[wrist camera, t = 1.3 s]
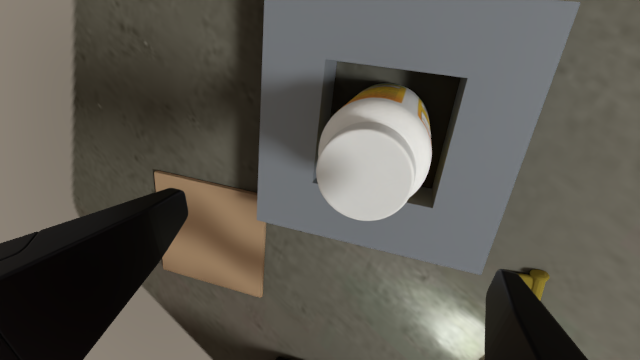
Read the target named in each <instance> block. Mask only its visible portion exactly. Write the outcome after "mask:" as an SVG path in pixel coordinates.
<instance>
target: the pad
mask: <svg viewBox="0 0 640 360" xmlns="http://www.w3.org/2000/svg"><path fill="white" fill-rule="evenodd" d="M154 177H155V187H156V192H158V191H161V190H164V189H167V188H175V189H180V190H182V191H184V193H185V196H186V201H187V206H188V217H187V219H186V221H185V223H184V224H183V226H182V227H181V229H180V231H179V232H178V234H177V235H176V237H175V239H174V240H173V242H172V243H171V245H170V247H169V248H168V250H167V251H166V253H165V254H164V256H163V257H162V259H163V269H165V270H168V271H172V272H175V273H178V274H182V275H185V276H189V277H192V278H195V279H199V280H202V281H205V282H209V283H212V284H216V285H219V286H222V287H226V288H229V289H233V290H236V291H239V292H243V293H246V294H250V295H253V296H256V297H260V298H261V297H262V295H263V279H264V258H265V238H266V222H262V221H258V220H257V194H258V193H255V192H251V191H247V190H242V189H238V188H233V187H229V186H225V185H220V184H216V183H211V182H207V181H202V180H198V179H194V178H189V177H185V176H180V175H176V174H172V173H167V172H163V171H158V170H157V171H155V172H154Z"/></svg>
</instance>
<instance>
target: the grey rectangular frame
mask: <svg viewBox="0 0 640 360" xmlns="http://www.w3.org/2000/svg"><path fill="white" fill-rule="evenodd" d="M580 3H581V2H571V1H559V0H264V25H263V53H262V81H261V109H260V138H259V166H258V194H257V220H258V221H262V222H266V223H270V224H274V225H278V226H282V227H286V228H291V229H295V230H299V231H303V232H307V233H311V234H315V235H319V236H323V237H327V238H331V239H335V240H340V241H344V242H348V243H352V244H356V245H360V246H364V247H368V248H372V249H376V250H380V251H384V252H389V253H393V254H397V255H401V256H405V257H409V258H413V259H417V260H421V261H425V262H429V263H433V264H438V265H442V266H446V267H450V268H454V269H458V270H462V271H466V272H470V273H474V274H478V275H481V274H482V271H483V268H484V266H485V263H486V260H487V257H488V255H489V252H490V249H491V246H492V244H493V241H494V238H495V235H496V233H497V230H498V227H499V224H500V222H501V219H502V216H503V213H504V211H505V208H506V205H507V203H508V200H509V197H510V194H511V192H512V189H513V186H514V183H515V181H516V178H517V175H518V172H519V170H520V167H521V164H522V161H523V159H524V156H525V153H526V150H527V148H528V145H529V142H530V140H531V137H532V134H533V131H534V129H535V126H536V123H537V120H538V118H539V115H540V112H541V109H542V107H543V104H544V101H545V98H546V96H547V93H548V90H549V88H550V85H551V82H552V79H553V77H554V74H555V71H556V68H557V66H558V63H559V60H560V57H561V55H562V52H563V49H564V46H565V44H566V41H567V38H568V35H569V33H570V30H571V27H572V25H573V22H574V19H575V16H576V14H577V11H578V8H579V5H580ZM337 61H342V62H350V63H357V64H365V65H372V66H380V67H387V68H395V69H402V70H410V71H417V72H425V73H432V74H440V75H447V76H455V77H461V78H460V82H459V86H458V90H457V94H456V98H455V101H454V105H453V109H452V113H451V117H450V121H449V124H448V128H447V132H446V136H445V140H444V144H443V147H442V151H441V155H440V159H439V163H438V167H437V170H436V174H435V178H434V182H433V186H432V189H430V188H425V187H420V188H419V189H418V190H417V191H416V193H414V194H413V195H412V196H411V197H410V198H409V199H408V200H407V202H406V203H405V204H404V206H403V207H402V208H401V209H400V210H398V211H397V212H396V213H394V214H392V215H391V216H389V217H386V218H383V219H380V220H374V221H361V220H356V219H352V218H349V217H347V216H345V215H343V214H341V213H339V212H338V211H336V210H335V209H334V208H333V207H332V206H330V205H329V203H328V202H327V201H326V200H325V198H324V197H323V195H322V194H321V191H320V189H319V186H318V183H317V178H316V167H317V161H318V158H319V157H318V149H319V143H320V138H321V135H322V132H323V130H324V128H325V126H326V124H327V123H328V121H329V120H330V116H331V108H332V99H333V91H334V82H335V74H336V66H337Z"/></svg>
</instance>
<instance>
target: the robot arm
mask: <svg viewBox="0 0 640 360" xmlns="http://www.w3.org/2000/svg"><path fill="white" fill-rule="evenodd" d="M187 217H188V206H187V201H186V196H185V193H184V191H182V190H180V189H175V188H167V189H164V190H161V191H158V192H155V193H152V194H149V195H146V196H143V197H140V198H137V199H134V200H131V201H128V202H125V203H122V204H119V205H116V206H113V207H110V208H107V209H104V210H101V211H98V212H95V213H92V214H89V215H86V216H83V217H80V218H77V219H74V220H71V221H68V222H65V223H62V224H58V225H56V226H52V227H49V228H46V229H43V230H41V231H39V232H34V233H32V234H28V235H25V236H23V237H19V238H16V239H13V240H10V241H6V242H3V243H0V360H83V359H84V358H85V356H86V355H87V354H88V353H89V351H90V350H91V349H92V348H93V346H94V345H95V344H96V342H97V341H98V339H100V337H101V336H102V335H103V333H104V332H105V331H106V330H107V328H108V327H109V326H110V324H111V323H112V322H113V321H114V319H115V318H116V317H117V315H118V314H119V313H120V311H121V310H122V309H123V308H124V307H125V305H126V304H127V302H128V301H129V300H130V299H131V298H132V296H133V295H134V293H135V292H136V291H137V290H138V288H139V287H140V286H141V285H142V283H143V282H144V281H145V280H146V278H147V277H148V276H149V274H150V273H151V272H152V271H153V269H154V268H155V267H156V266H157V264H158V263H159V261H160V260H161V259H162V257H163V256H164V254H165V253H166V251H167V250H168V248H169V247H170V245H171V243H172V242H173V240H174V239H175V237H176V235H177V234H178V232H179V231H180V229H181V227H182V226H183V224H184V223H185V221H186V219H187ZM276 360H287V359H284V358H281V357H277V358H276ZM485 360H588V359H587V358H586V357H585V355H584V354H583V353H582V352H581V350H580V349H579V348H578V347H577V345H576V344H575V343H574V342H573V341H572V339H571V338H570V337H569V336H568V334H567V333H566V332H565V331H564V330H563V328H562V327H561V326H560V325H559V323H558V322H557V321H556V320H555V318H554V317H553V316H552V315H551V314H550V312H549V311H548V310H547V309H546V307H545V306H544V305H543V304H542V303H541V301H540V300H539V299H538V298H537V296H536V295H535V294H534V293H533V291H532V290H531V289H530V288H529V287H528V285H527V284H526V283H525V282H524V280H523V279H522V278H521V277H520V276H519V275H518V274H517V273H515V272H512V271H508V270H504V269H500V270H498V271H497V272H496V274H495V276H494V278H493V280H492V282H491V284H490V286H489V289H488V291H487V295H486V315H485Z"/></svg>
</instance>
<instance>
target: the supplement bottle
mask: <svg viewBox="0 0 640 360" xmlns="http://www.w3.org/2000/svg"><path fill="white" fill-rule="evenodd" d="M318 157H319V158H318V161H317V167H316V178H317V183H318V186H319V189H320V191H321V194H322V195H323V197H324V198H325V200H326V201H327V202H328V203H329V205H330V206H332V207H333V208H334V209H335V210H336V211H338V212H339V213H341V214H343V215H345V216H347V217H349V218H352V219H356V220H361V221H374V220H380V219H383V218H386V217H389V216H391V215H392V214H394V213H396V212H397V211H398V210H400V209H401V208H402V207H403V206H404V204H405V203H406V202H407V200H408V199H409V198H410V197H411V196H412V195H413V194H414V193H416V191H417V190H418V189H419V188H420V187H421V185H422V184H423V182H424V181H425V179H426V177H427V174H428V172H429V168H430V165H431V158H432V145H431V132H430V121H429V115H428V112H427V109H426V107H425V105H424V103H423V102H422V100H421V99H420V98H419V97H418V96H417V95H416V94H415V93H414V92H413V91H411V90H410V89H408V88H406V87H404V86H401V85H398V84H392V83H382V84H377V85H373V86H371V87H369V88H366V89H365V90H363V91H362V92H360V93H359V94H358V95H356V96H355V97H354V98H353V99H352V100H350V101H349V102H348V103H347V104H346V105H344V106H343V107H342V108H341V109H339V110H338V111H337V112H336V113H335V114H334V115H333V116H332V117H331V119H330V120H329V121H328V123H327V124H326V126H325V128H324V130H323V132H322V135H321V138H320V143H319V149H318Z"/></svg>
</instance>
